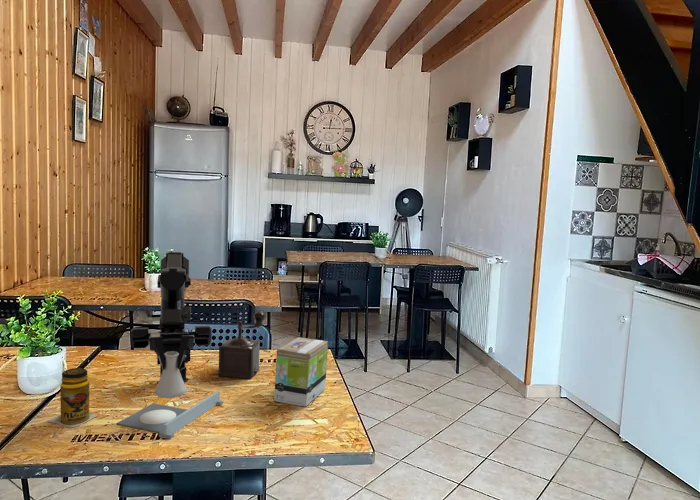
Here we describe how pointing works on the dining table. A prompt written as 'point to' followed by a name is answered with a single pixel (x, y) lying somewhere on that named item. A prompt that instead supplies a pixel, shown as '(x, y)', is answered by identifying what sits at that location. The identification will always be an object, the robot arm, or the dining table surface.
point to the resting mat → (152, 417)
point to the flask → (170, 378)
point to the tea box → (300, 371)
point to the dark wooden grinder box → (240, 354)
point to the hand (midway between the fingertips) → (171, 368)
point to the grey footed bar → (190, 415)
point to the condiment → (74, 398)
